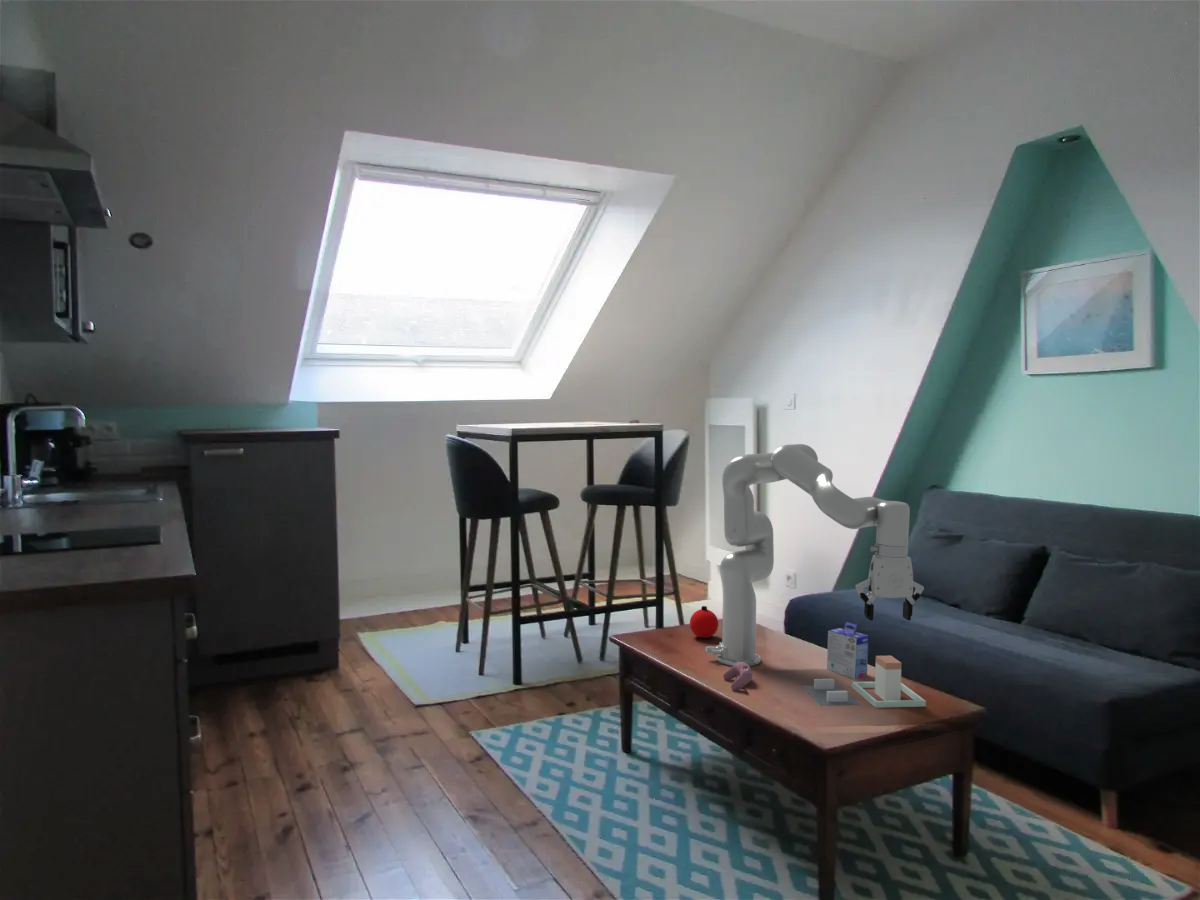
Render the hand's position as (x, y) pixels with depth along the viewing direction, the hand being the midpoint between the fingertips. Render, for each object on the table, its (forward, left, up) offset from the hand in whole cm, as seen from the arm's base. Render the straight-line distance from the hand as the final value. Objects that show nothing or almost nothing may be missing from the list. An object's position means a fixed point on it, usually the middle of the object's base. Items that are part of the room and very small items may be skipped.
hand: (887, 618), depth 210 cm
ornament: (-34, +59, -21) cm, 71 cm away
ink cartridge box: (-3, +19, -21) cm, 28 cm away
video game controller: (-34, +14, -21) cm, 43 cm away
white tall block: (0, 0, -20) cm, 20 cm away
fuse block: (-14, +2, -21) cm, 25 cm away
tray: (0, 0, -21) cm, 21 cm away
